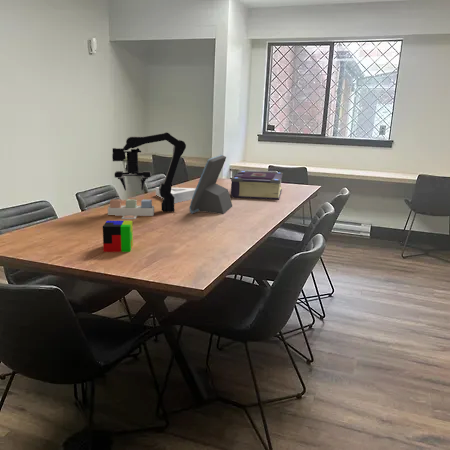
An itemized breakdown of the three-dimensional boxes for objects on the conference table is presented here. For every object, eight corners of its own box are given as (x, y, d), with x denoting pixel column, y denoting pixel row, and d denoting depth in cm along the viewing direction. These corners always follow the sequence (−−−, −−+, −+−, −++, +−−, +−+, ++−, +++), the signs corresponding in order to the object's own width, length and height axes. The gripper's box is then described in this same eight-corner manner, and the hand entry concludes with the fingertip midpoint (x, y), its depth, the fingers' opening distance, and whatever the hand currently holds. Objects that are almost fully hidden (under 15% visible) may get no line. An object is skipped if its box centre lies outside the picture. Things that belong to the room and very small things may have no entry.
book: (228, 197, 306) (229, 176, 302) (237, 188, 349) (238, 169, 346) (279, 200, 301) (280, 178, 298) (282, 190, 344) (283, 171, 341)
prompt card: (136, 216, 241) (136, 215, 241) (135, 219, 235) (135, 217, 235) (123, 216, 241) (123, 215, 240) (121, 218, 235) (121, 217, 235)
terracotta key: (121, 208, 248) (121, 199, 247) (120, 210, 243) (119, 201, 242) (111, 208, 247) (111, 199, 246) (110, 210, 242) (109, 200, 241)
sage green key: (136, 208, 248) (136, 199, 247) (135, 210, 243) (135, 201, 242) (127, 208, 248) (126, 199, 247) (125, 210, 243) (125, 201, 242)
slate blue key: (151, 208, 249) (151, 199, 248) (151, 210, 244) (150, 201, 243) (142, 208, 249) (142, 199, 247) (141, 210, 244) (141, 201, 243)
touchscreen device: (202, 202, 285) (205, 153, 278) (234, 205, 281) (237, 155, 274) (186, 213, 251) (188, 157, 244) (221, 217, 248) (224, 160, 241)
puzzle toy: (107, 244, 188) (106, 220, 185) (132, 244, 189) (132, 220, 186) (103, 251, 178) (102, 226, 176) (130, 251, 179) (129, 226, 177)
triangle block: (173, 204, 279) (173, 194, 278) (140, 199, 292) (140, 189, 291) (201, 198, 304) (201, 188, 303) (170, 193, 317) (170, 184, 316)
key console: (154, 213, 251) (154, 205, 250) (153, 215, 244) (153, 208, 243) (110, 212, 249) (110, 205, 248) (107, 215, 242) (107, 207, 241)
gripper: (151, 159, 255) (152, 187, 258) (116, 159, 253) (118, 188, 257) (150, 161, 244) (151, 191, 247) (113, 161, 242) (115, 191, 246)
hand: (133, 190), depth 250 cm, fingers open, 8 cm apart
